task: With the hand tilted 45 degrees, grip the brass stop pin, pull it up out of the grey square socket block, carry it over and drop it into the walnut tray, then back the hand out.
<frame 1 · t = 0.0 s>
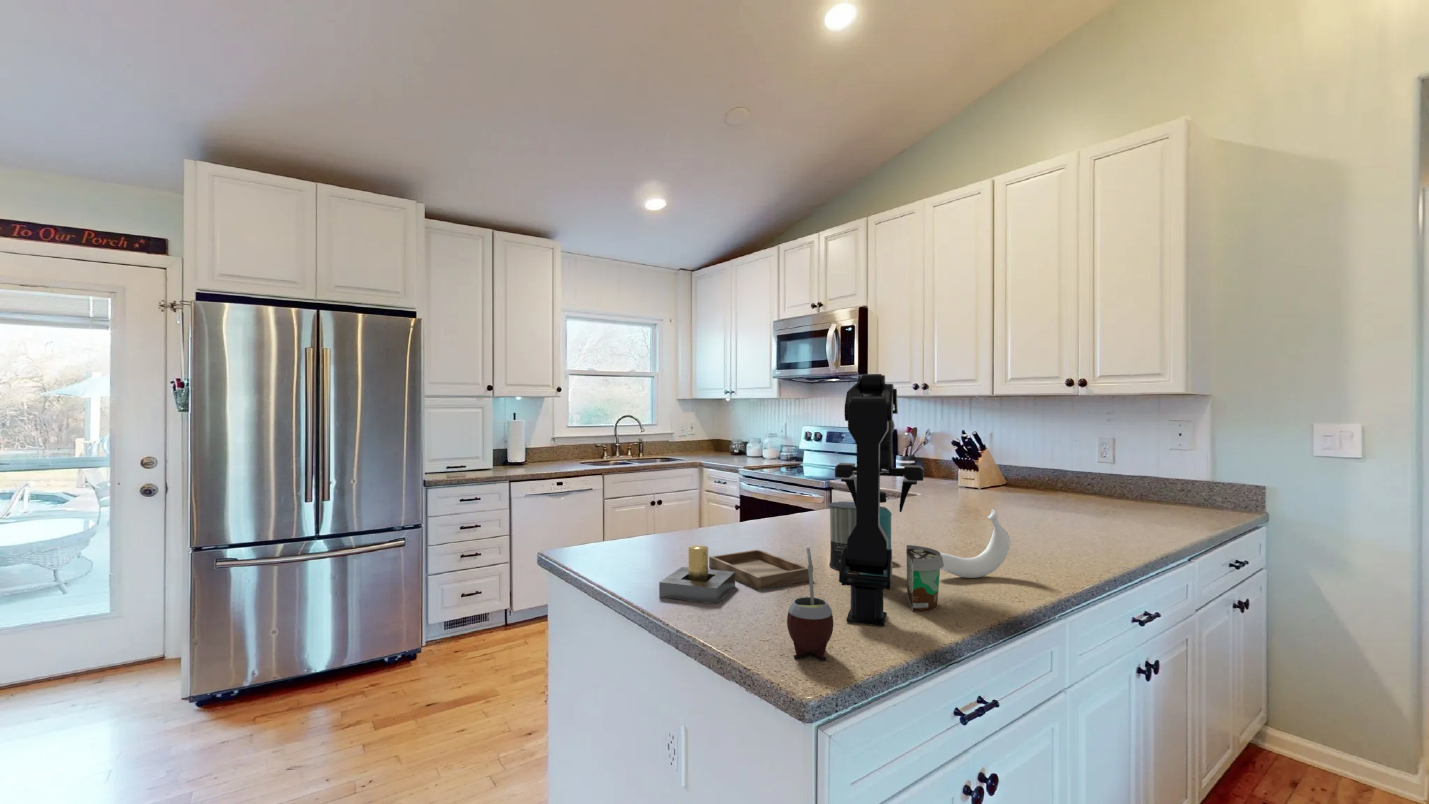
hand: (878, 510, 136), 15 cm above the counter, tool pointing down, fingers open, 9 cm apart
beverage bottle: (876, 587, 129), on the counter
grey square socket block: (698, 591, 125), on the counter
mate gourd: (809, 654, 94), on the counter
food container: (926, 605, 117), on the counter
milk frother: (860, 565, 146), on the counter
brass stop pin: (698, 569, 125), in the grey square socket block
banana: (969, 577, 135), on the counter
walnut tray: (758, 573, 138), on the counter
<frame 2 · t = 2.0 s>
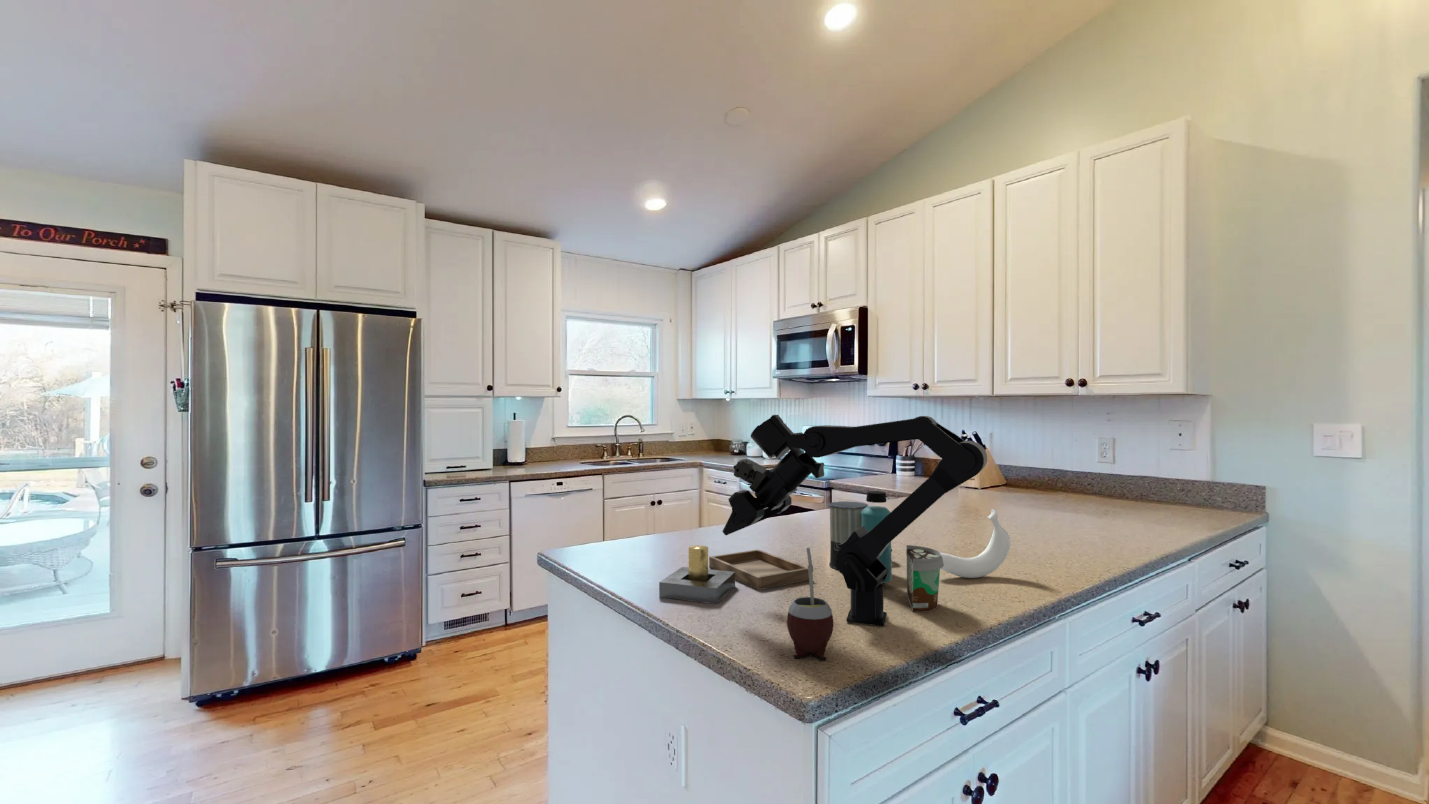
hand: (734, 529, 121), 13 cm above the counter, tool tilted 45°, fingers open, 9 cm apart
nothing on the counter moved.
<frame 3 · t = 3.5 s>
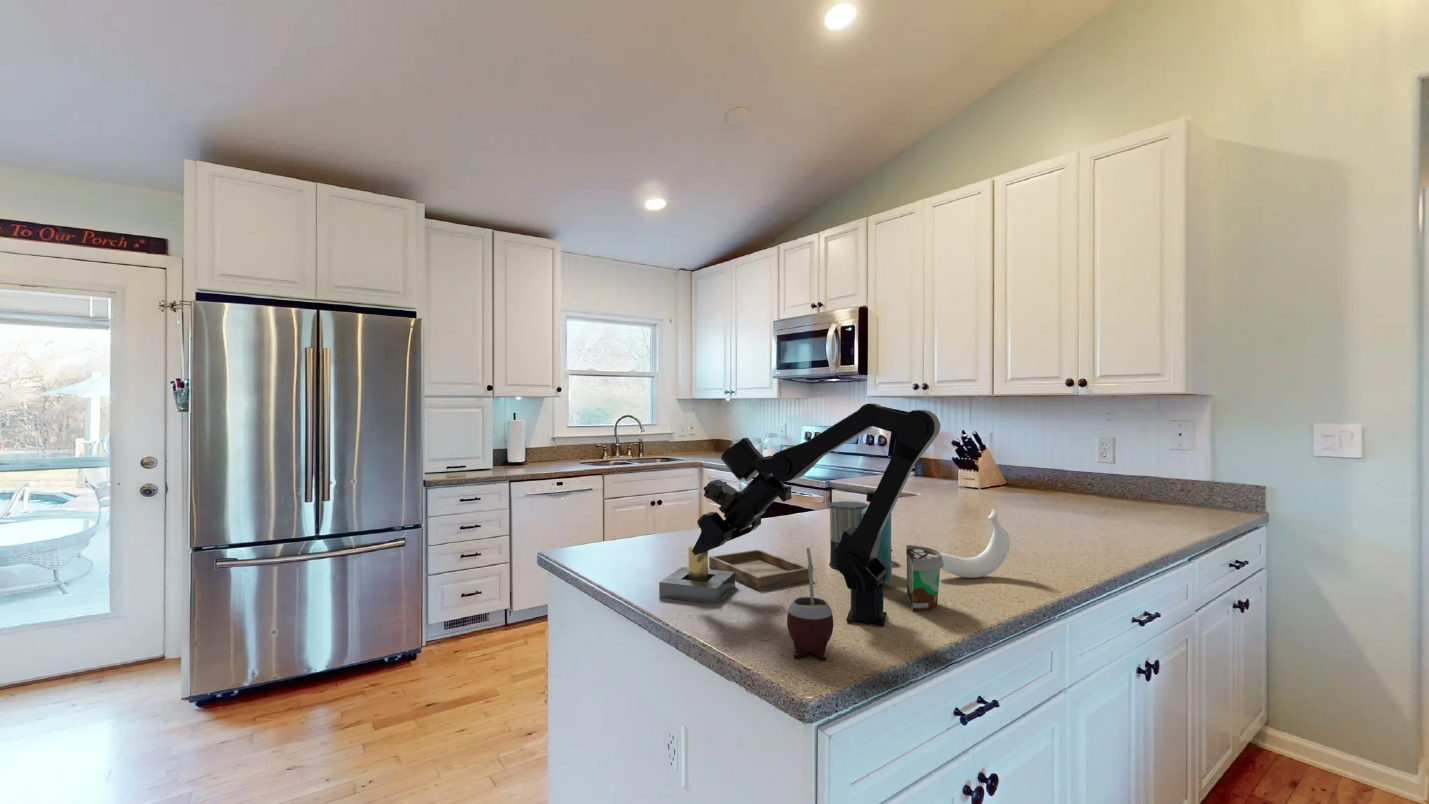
hand: (704, 548, 124), 9 cm above the counter, tool tilted 45°, fingers open, 9 cm apart
nothing on the counter moved.
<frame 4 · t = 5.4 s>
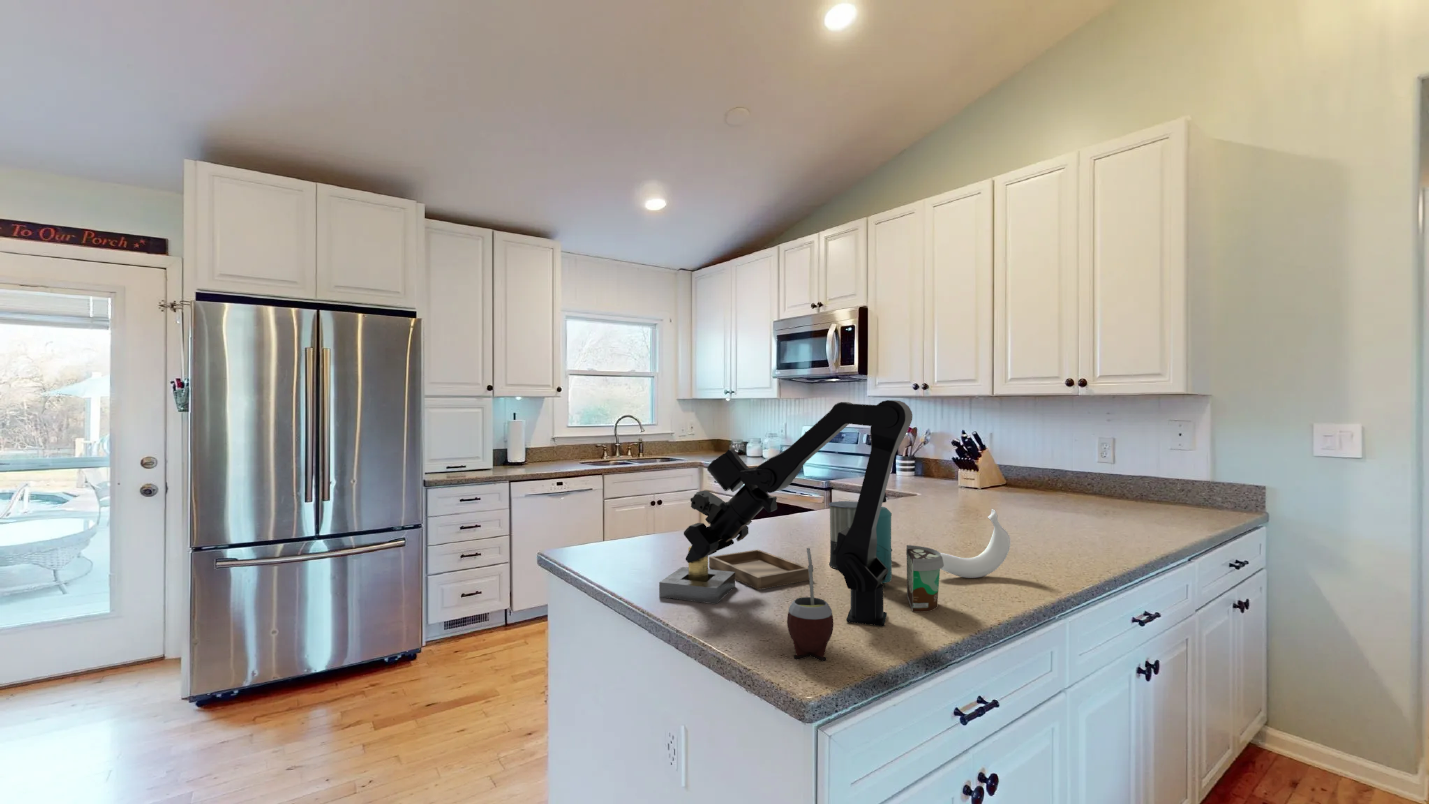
hand: (692, 558, 125), 7 cm above the counter, tool tilted 45°, fingers closed on brass stop pin, 4 cm apart
brass stop pin: (698, 569, 125), in the grey square socket block, touching gripper
everything else where it was.
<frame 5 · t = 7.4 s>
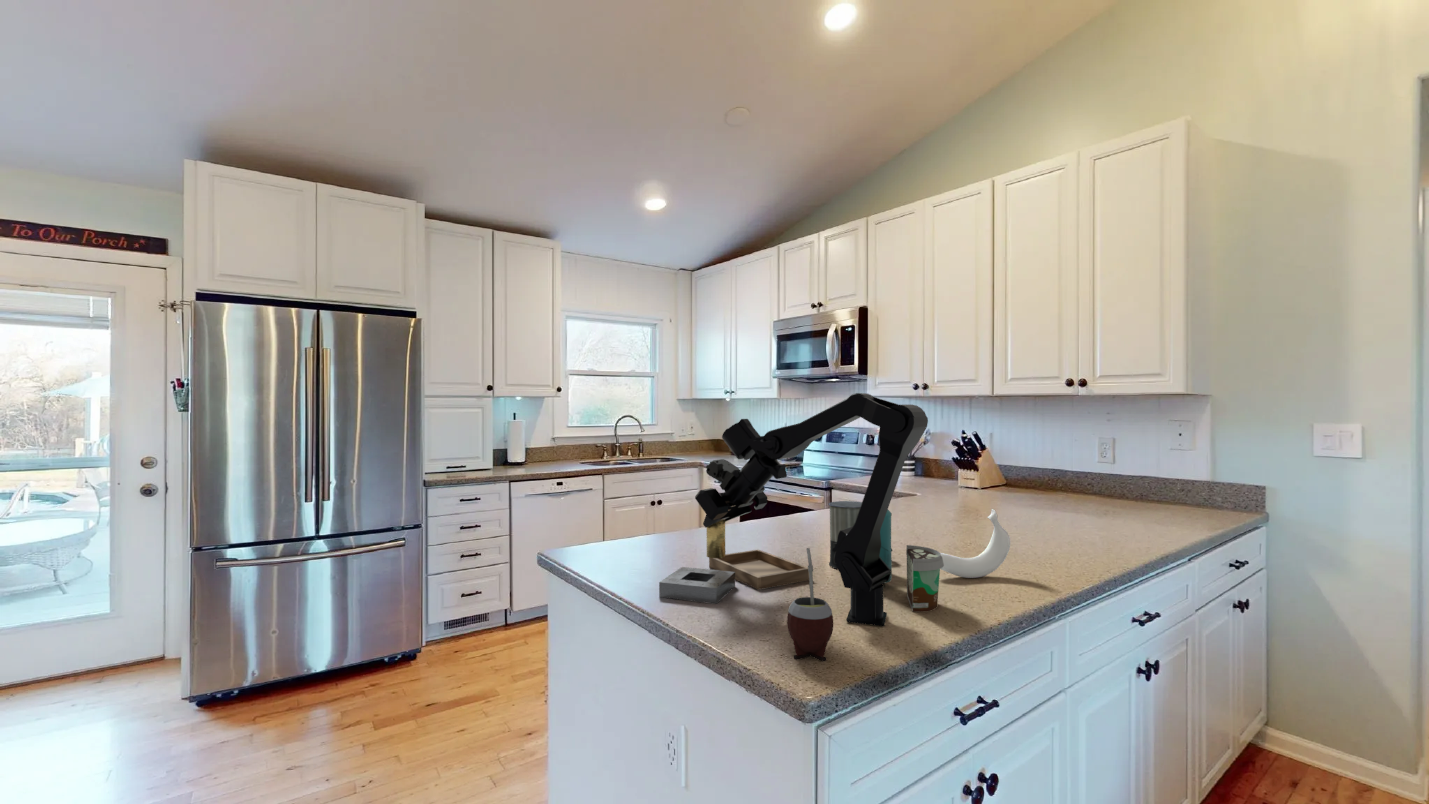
hand: (711, 524, 131), 13 cm above the counter, tool tilted 45°, fingers closed on brass stop pin, 4 cm apart
brass stop pin: (715, 534, 130), point 10 cm above the counter, touching gripper
everything else where it was.
when the fingers open (9 cm above the counter, at t = 9.5 s): brass stop pin drops 1 cm, resting on walnut tray.
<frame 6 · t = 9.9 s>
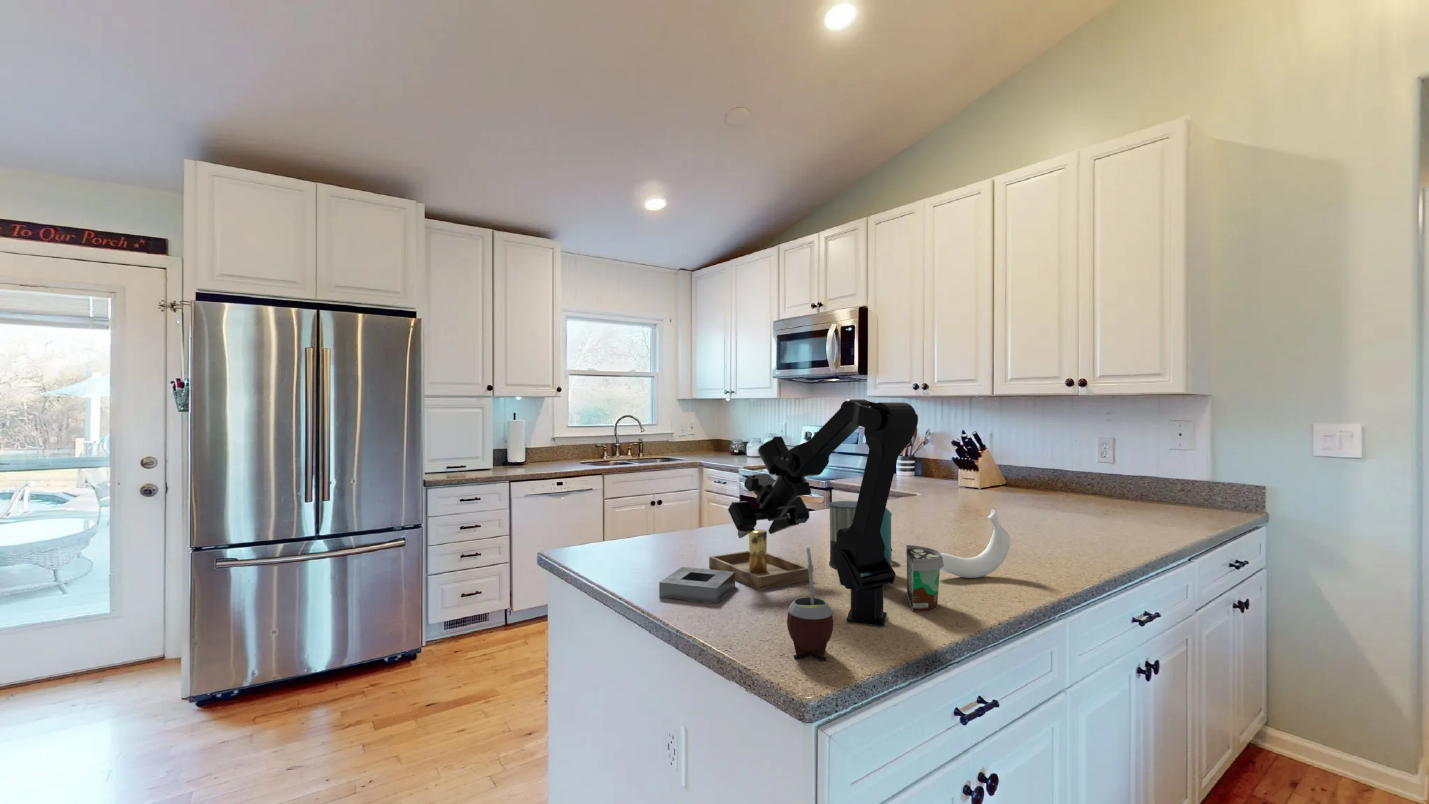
hand: (754, 534, 139), 9 cm above the counter, tool tilted 45°, fingers open, 8 cm apart
brass stop pin: (757, 551, 138), in the walnut tray
everything else where it was.
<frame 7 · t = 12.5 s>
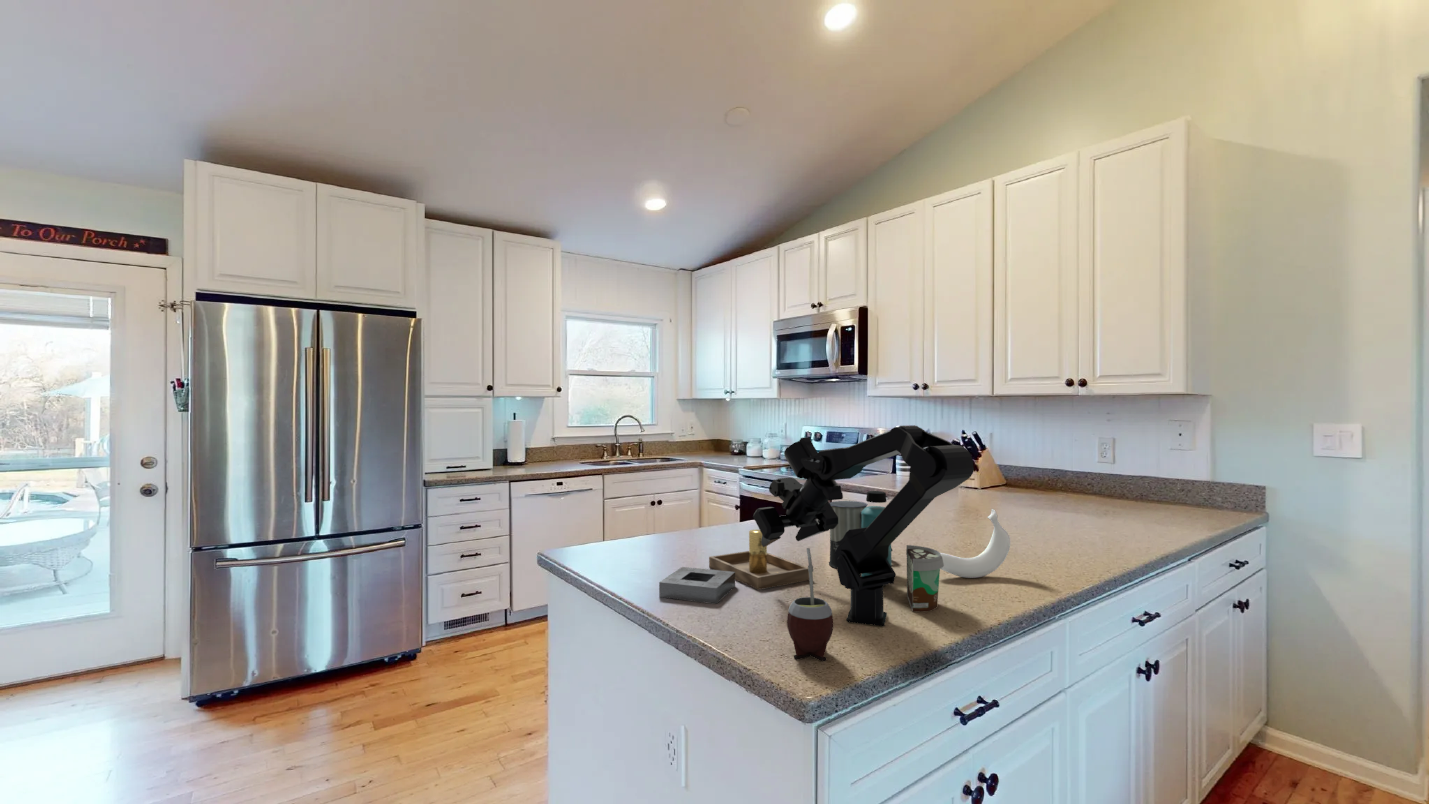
hand: (780, 542, 131), 9 cm above the counter, tool tilted 45°, fingers open, 9 cm apart
nothing on the counter moved.
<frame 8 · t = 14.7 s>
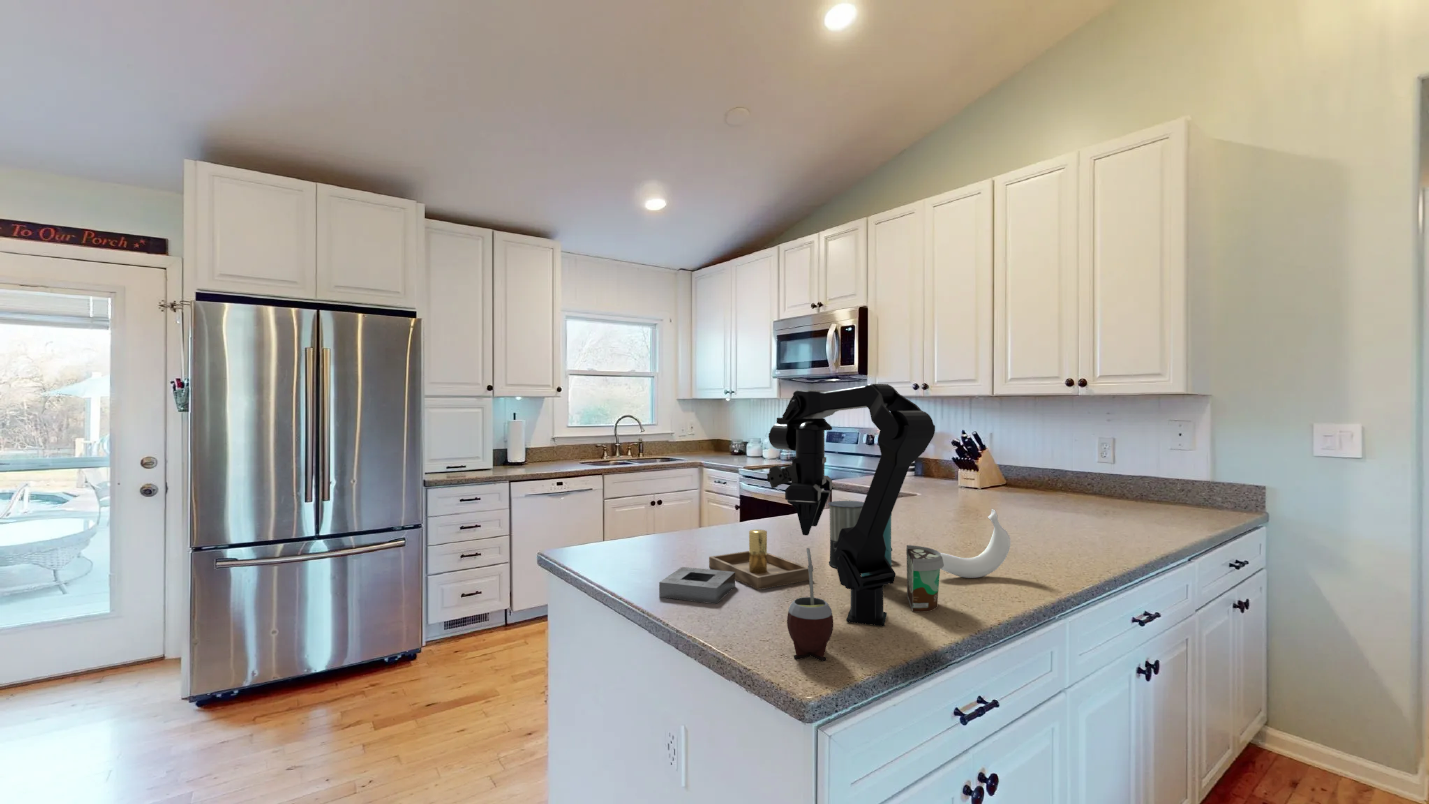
hand: (809, 530, 122), 13 cm above the counter, tool pointing down, fingers open, 9 cm apart
at the end: brass stop pin inside the target area on the walnut tray (0.0 cm from its centre), point 5.0 cm above the walnut tray's base; the gripper is holding nothing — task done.
